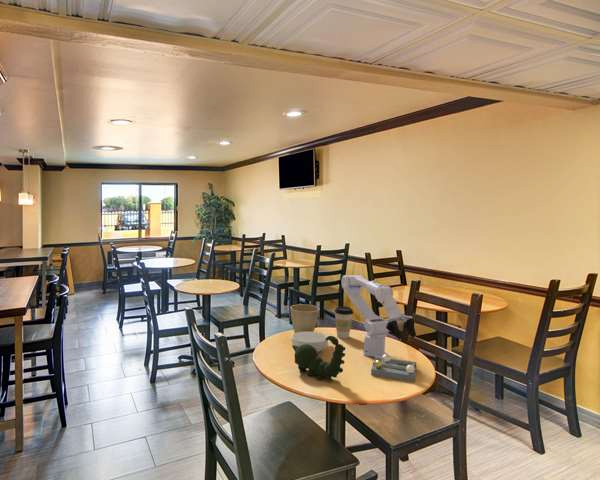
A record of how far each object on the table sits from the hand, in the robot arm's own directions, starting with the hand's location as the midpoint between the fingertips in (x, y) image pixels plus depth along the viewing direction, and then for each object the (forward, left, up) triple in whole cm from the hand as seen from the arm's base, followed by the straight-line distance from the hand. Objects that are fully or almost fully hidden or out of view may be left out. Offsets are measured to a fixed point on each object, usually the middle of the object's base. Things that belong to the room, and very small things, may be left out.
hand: (407, 337), depth 163 cm
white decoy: (+2, -8, -10) cm, 13 cm away
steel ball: (-8, -2, -10) cm, 13 cm away
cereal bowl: (-44, +6, -15) cm, 47 cm away
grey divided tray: (-5, -3, -14) cm, 15 cm away
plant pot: (-52, +22, -14) cm, 58 cm away
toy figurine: (-34, -19, -15) cm, 41 cm away
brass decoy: (-11, -8, -10) cm, 17 cm away
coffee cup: (-34, +33, -14) cm, 50 cm away
